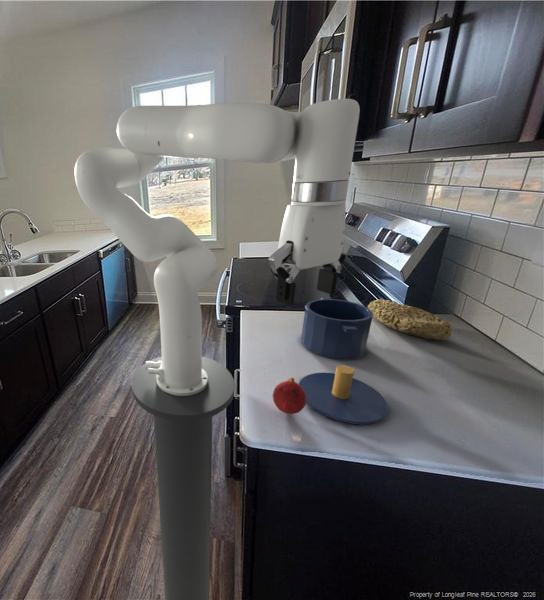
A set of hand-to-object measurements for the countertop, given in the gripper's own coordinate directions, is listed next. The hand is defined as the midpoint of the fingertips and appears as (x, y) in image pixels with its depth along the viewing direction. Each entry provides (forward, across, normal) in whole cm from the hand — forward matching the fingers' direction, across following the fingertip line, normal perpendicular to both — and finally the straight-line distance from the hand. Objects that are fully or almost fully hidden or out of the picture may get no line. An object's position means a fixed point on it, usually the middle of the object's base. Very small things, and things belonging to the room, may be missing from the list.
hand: (305, 297), depth 55 cm
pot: (+24, -28, -13) cm, 39 cm away
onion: (+24, +2, +1) cm, 24 cm away
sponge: (+24, -53, -9) cm, 59 cm away
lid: (+23, -10, +3) cm, 25 cm away
